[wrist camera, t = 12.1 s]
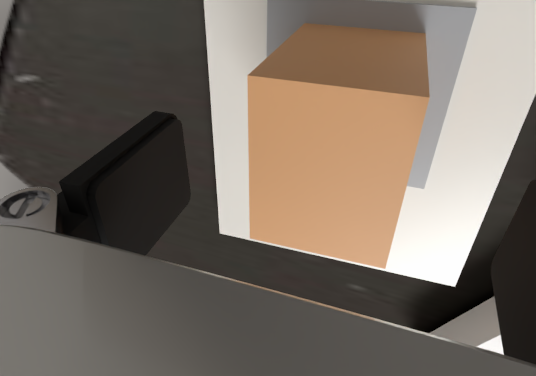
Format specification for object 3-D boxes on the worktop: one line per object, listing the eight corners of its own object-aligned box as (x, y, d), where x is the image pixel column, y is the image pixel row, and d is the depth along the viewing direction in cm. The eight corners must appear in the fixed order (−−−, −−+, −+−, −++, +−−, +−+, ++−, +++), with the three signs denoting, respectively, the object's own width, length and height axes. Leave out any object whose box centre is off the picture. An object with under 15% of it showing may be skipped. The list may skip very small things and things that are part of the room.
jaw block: (304, 23, 16) (247, 75, 11) (425, 33, 15) (429, 97, 10) (296, 149, 20) (249, 238, 14) (394, 165, 19) (385, 268, 13)
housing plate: (207, -193, 15) (134, -233, 11) (645, -216, 12) (758, -283, 8) (228, 219, 26) (196, 270, 22) (452, 267, 23) (460, 338, 19)
